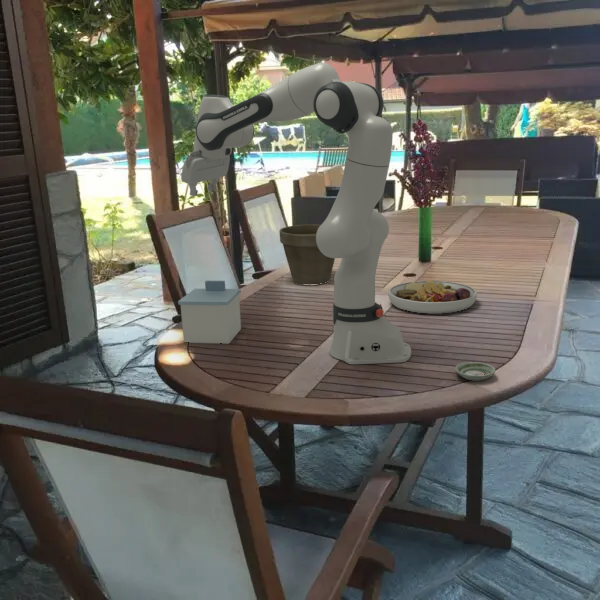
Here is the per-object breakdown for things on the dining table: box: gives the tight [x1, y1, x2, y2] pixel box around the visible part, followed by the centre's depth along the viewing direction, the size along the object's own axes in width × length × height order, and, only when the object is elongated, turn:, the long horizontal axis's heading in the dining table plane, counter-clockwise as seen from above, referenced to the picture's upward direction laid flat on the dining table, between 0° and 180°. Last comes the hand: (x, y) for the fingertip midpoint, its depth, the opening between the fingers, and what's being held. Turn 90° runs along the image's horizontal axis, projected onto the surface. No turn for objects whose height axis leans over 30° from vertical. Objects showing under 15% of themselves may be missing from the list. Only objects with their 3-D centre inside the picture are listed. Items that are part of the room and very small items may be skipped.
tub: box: [180, 293, 242, 345], centre depth 196 cm, size 14×14×12 cm
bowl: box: [387, 279, 478, 315], centre depth 222 cm, size 30×30×8 cm
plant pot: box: [278, 224, 336, 285], centre depth 258 cm, size 25×25×22 cm
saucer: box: [454, 361, 496, 381], centre depth 159 cm, size 10×10×2 cm
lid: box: [177, 280, 241, 306], centre depth 194 cm, size 15×15×5 cm
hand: (202, 193), depth 198 cm, fingers open, 8 cm apart
